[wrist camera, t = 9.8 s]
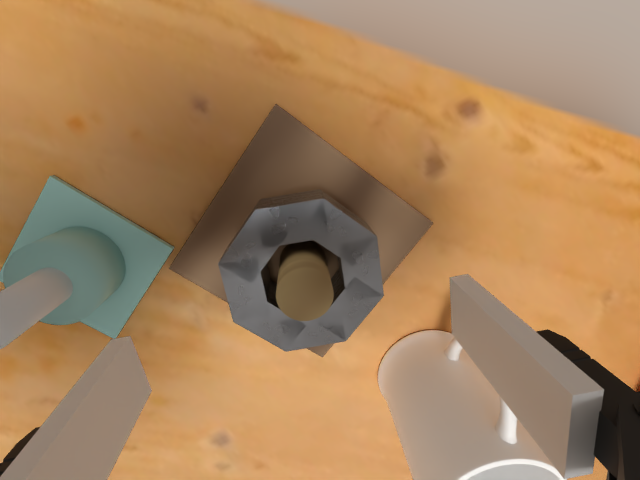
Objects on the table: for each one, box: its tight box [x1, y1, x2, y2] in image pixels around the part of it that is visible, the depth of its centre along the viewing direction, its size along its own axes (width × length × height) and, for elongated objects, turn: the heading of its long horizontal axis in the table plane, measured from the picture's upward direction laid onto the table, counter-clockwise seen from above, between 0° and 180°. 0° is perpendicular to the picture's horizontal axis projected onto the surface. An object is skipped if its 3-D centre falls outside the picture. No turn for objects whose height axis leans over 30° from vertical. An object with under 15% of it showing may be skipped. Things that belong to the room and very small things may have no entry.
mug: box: [378, 330, 567, 480], centre depth 25 cm, size 12×8×12 cm
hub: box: [169, 104, 433, 357], centre depth 22 cm, size 14×14×8 cm
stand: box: [0, 175, 174, 349], centre depth 21 cm, size 9×9×9 cm
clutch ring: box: [218, 189, 384, 351], centre depth 22 cm, size 9×9×3 cm
